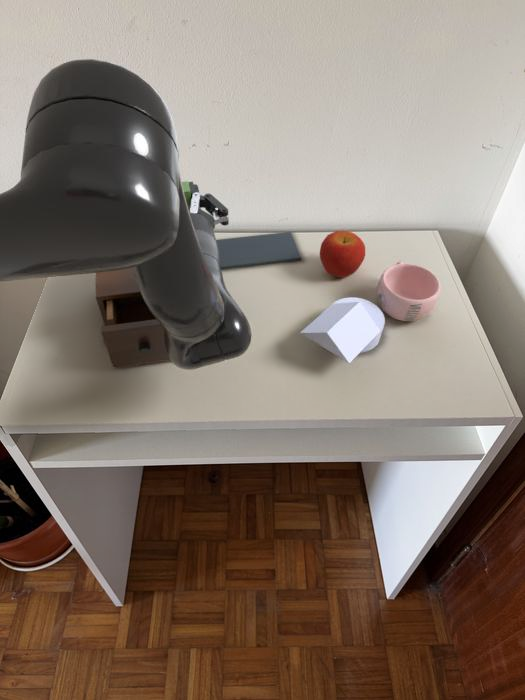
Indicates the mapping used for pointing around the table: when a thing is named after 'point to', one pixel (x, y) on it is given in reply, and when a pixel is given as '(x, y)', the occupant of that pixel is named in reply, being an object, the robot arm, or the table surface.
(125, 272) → the cabinet
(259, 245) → the mat
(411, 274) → the mug
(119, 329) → the drawer
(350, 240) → the apple
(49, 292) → the table surface
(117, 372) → the table surface
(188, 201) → the long green square beam
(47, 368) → the table surface
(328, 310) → the wedge on round base
